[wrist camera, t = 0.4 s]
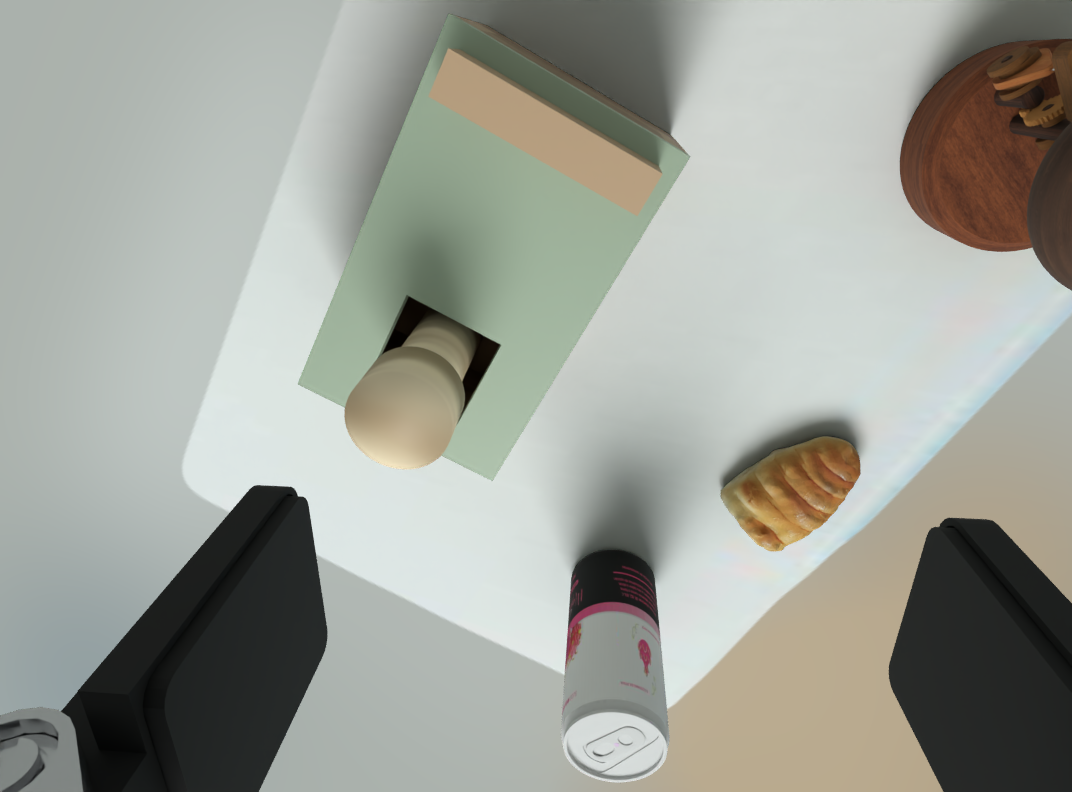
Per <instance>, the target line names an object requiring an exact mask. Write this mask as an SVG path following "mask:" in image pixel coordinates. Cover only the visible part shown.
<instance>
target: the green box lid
mask: <svg viewBox="0 0 1072 792" xmlns="http://www.w3.org/2000/svg"><path fill="white" fill-rule="evenodd" d="M689 158H690V156H689V155H688V154H687V153H686V152H684V151H682V150H681V149H679V148H677V147H676V146H674V145H672V144H670V143H669V142H667V141H665V140H664V139H662V138H660V137H659V136H657V135H655V134H654V133H652V132H650V131H649V130H647V129H645V128H644V127H642V126H640V125H638V124H637V123H635V122H633V121H632V120H630V119H628V118H627V117H625V116H623V115H622V114H620V113H618V112H617V111H615V110H613V109H612V108H610V107H608V106H606V105H605V104H603V103H601V102H600V101H598V100H596V99H595V98H593V97H591V96H590V95H588V94H586V93H585V92H583V91H581V90H580V89H578V88H576V87H574V86H573V85H571V84H569V83H568V82H566V81H564V80H563V79H561V78H559V77H558V76H556V75H554V74H553V73H551V72H549V71H548V70H546V69H544V68H543V67H541V66H539V65H537V64H536V63H534V62H532V61H531V60H529V59H527V58H526V57H524V56H522V55H521V54H519V53H517V52H516V51H514V50H512V49H511V48H509V47H507V46H505V45H504V44H502V43H500V42H499V41H497V40H495V39H494V38H492V37H490V36H489V35H487V34H485V33H484V32H482V31H480V30H479V29H477V28H475V27H473V26H472V25H470V24H468V23H467V22H465V21H463V20H462V19H460V18H458V17H457V16H455V15H452V14H448V16H447V19H446V21H445V24H444V26H443V28H442V31H441V33H440V36H439V38H438V41H437V43H436V46H435V48H434V51H433V53H432V55H431V58H430V60H429V63H428V65H427V68H426V70H425V73H424V75H423V78H422V80H421V82H420V85H419V87H418V90H417V92H416V95H415V97H414V100H413V102H412V105H411V107H410V109H409V112H408V114H407V117H406V119H405V122H404V124H403V127H402V129H401V132H400V134H399V136H398V139H397V141H396V144H395V146H394V149H393V151H392V154H391V156H390V159H389V161H388V163H387V166H386V168H385V171H384V173H383V176H382V178H381V181H380V183H379V186H378V188H377V190H376V193H375V195H374V198H373V200H372V203H371V205H370V208H369V210H368V213H367V215H366V217H365V220H364V222H363V225H362V227H361V230H360V232H359V235H358V237H357V240H356V242H355V244H354V247H353V249H352V252H351V254H350V257H349V259H348V262H347V264H346V267H345V269H344V271H343V274H342V276H341V279H340V281H339V284H338V286H337V289H336V291H335V294H334V296H333V298H332V301H331V303H330V306H329V308H328V311H327V313H326V316H325V318H324V321H323V323H322V325H321V328H320V330H319V333H318V335H317V338H316V340H315V343H314V345H313V348H312V350H311V352H310V355H309V357H308V360H307V362H306V365H305V367H304V370H303V372H302V375H301V377H300V379H299V382H298V385H300V386H302V387H304V388H306V389H308V390H310V391H312V392H314V393H316V394H318V395H320V396H322V397H324V398H326V399H328V400H331V401H333V402H335V403H337V404H339V405H341V406H343V407H345V406H346V402H347V399H348V397H349V395H350V393H351V392H352V390H353V389H354V388H355V386H356V385H357V384H358V383H359V381H360V380H361V379H362V377H363V376H364V375H365V374H366V372H367V371H368V370H369V368H370V367H371V366H372V365H373V363H374V362H375V361H376V360H377V359H378V358H379V357H380V356H381V355H382V353H383V351H384V349H385V347H386V344H387V342H388V340H389V338H390V336H391V334H392V331H393V329H394V327H395V325H396V323H397V321H398V319H399V316H400V314H401V312H402V310H403V308H404V306H405V303H406V301H407V299H408V297H409V296H410V297H411V298H413V299H415V300H417V301H419V302H421V303H423V304H425V305H427V306H428V307H430V308H432V309H434V310H436V311H438V312H440V313H442V314H444V315H446V316H447V317H449V318H451V319H453V320H455V321H457V322H459V323H461V324H463V325H464V326H466V327H468V328H470V329H472V330H474V331H476V332H478V333H480V334H482V335H483V336H485V337H487V338H489V339H491V340H493V341H495V342H497V343H499V344H500V346H499V347H498V349H497V351H496V353H495V355H494V357H493V358H492V360H491V362H490V364H489V366H488V367H487V369H486V371H485V373H484V375H483V376H482V378H481V380H480V382H479V384H478V386H477V387H476V389H475V391H474V393H473V395H472V396H471V398H470V400H469V402H468V404H467V405H466V407H465V409H464V411H463V413H462V414H461V416H460V418H459V421H458V423H457V425H456V428H455V430H454V433H453V435H452V437H451V440H450V442H449V444H448V447H447V448H446V450H445V451H444V453H443V454H442V455H441V456H443V457H445V458H447V459H449V460H451V461H453V462H455V463H457V464H459V465H461V466H463V467H465V468H467V469H469V470H471V471H473V472H475V473H477V474H479V475H481V476H483V477H485V478H487V479H489V480H491V481H493V479H494V478H495V476H496V474H497V473H498V471H499V469H500V468H501V466H502V465H503V463H504V461H505V460H506V458H507V456H508V455H509V453H510V451H511V450H512V448H513V446H514V445H515V443H516V442H517V440H518V438H519V437H520V435H521V433H522V432H523V430H524V428H525V427H526V425H527V424H528V422H529V420H530V419H531V417H532V415H533V414H534V412H535V410H536V409H537V407H538V406H539V404H540V402H541V401H542V399H543V397H544V396H545V394H546V392H547V391H548V389H549V387H550V386H551V384H552V383H553V381H554V379H555V378H556V376H557V374H558V373H559V371H560V369H561V368H562V366H563V365H564V363H565V361H566V360H567V358H568V356H569V355H570V353H571V351H572V350H573V348H574V347H575V345H576V343H577V342H578V340H579V338H580V337H581V335H582V333H583V332H584V330H585V329H586V327H587V325H588V324H589V322H590V320H591V319H592V317H593V315H594V314H595V312H596V310H597V309H598V307H599V306H600V304H601V302H602V301H603V299H604V297H605V296H606V294H607V292H608V291H609V289H610V288H611V286H612V284H613V283H614V281H615V279H616V278H617V276H618V274H619V273H620V271H621V270H622V268H623V266H624V265H625V263H626V261H627V260H628V258H629V256H630V255H631V253H632V251H633V250H634V248H635V247H636V245H637V243H638V242H639V240H640V238H641V237H642V235H643V233H644V232H645V230H646V229H647V227H648V225H649V224H650V222H651V220H652V219H653V217H654V215H655V214H656V212H657V211H658V209H659V207H660V206H661V204H662V202H663V201H664V199H665V197H666V196H667V194H668V193H669V191H670V189H671V188H672V186H673V184H674V183H675V181H676V179H677V178H678V176H679V174H680V173H681V171H682V170H683V168H684V166H685V165H686V163H687V161H688V160H689Z"/></svg>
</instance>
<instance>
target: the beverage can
mask: <svg viewBox="0 0 1072 792" xmlns="http://www.w3.org/2000/svg"><path fill="white" fill-rule="evenodd" d="M564 680H565V681H564V694H563V709H562V724H561V739H562V742H563V749H564V753H565V755H566V757H567V759H568V760H569V762H570V763H571V764H572V765H573V766H574V767H575V768H576V769H578V770H579V771H581V772H582V773H584V774H586V775H588V776H590V777H593V778H595V779H599V780H603V781H609V782H629V781H635V780H639V779H642V778H645V777H647V776H649V775H651V774H652V773H654V772H655V771H656V770H658V769H659V768H660V767H661V765H662V764H663V762H664V761H665V759H666V756H667V748H668V745H669V728H668V717H667V706H666V695H665V684H664V674H663V663H662V652H661V641H660V631H659V620H658V609H657V598H656V588H655V578H654V575H653V572H652V570H651V569H650V567H649V566H648V564H647V563H646V562H645V561H643V560H642V559H641V558H639V557H638V556H636V555H634V554H632V553H629V552H626V551H622V550H602V551H598V552H595V553H592V554H590V555H588V556H586V557H585V558H583V559H582V560H581V561H580V562H579V563H578V564H577V566H576V567H575V569H574V571H573V574H572V578H571V592H570V606H569V621H568V635H567V650H566V665H565V679H564Z"/></svg>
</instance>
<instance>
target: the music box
mask: <svg viewBox="0 0 1072 792" xmlns="http://www.w3.org/2000/svg"><path fill="white" fill-rule="evenodd" d="M900 175H901V182H902V186H903V190H904V193H905V196H906V198H907V200H908V202H909V204H910V206H911V207H912V209H913V210H914V211H915V213H916V214H917V215H918V216H919V217H920V218H921V219H922V220H923V221H924V222H925V223H926V224H928V225H929V226H931V227H932V228H934V229H936V230H937V231H939V232H941V233H943V234H945V235H947V236H949V237H951V238H953V239H955V240H957V241H959V242H961V243H963V244H965V245H968V246H970V247H973V248H977V249H981V250H987V251H997V252H1007V251H1017V250H1023V249H1028V248H1032V247H1033V249H1034V252H1035V254H1036V256H1037V258H1038V259H1039V261H1040V262H1041V264H1042V265H1043V267H1044V268H1045V269H1046V270H1047V271H1048V272H1049V274H1050V275H1051V276H1052V277H1054V278H1055V279H1056V280H1057V281H1058V282H1060V283H1061V284H1062V285H1064V286H1065V287H1067V288H1068V289H1070V290H1072V39H1052V40H1033V41H1018V42H1011V43H1006V44H1002V45H998V46H995V47H992V48H989V49H986V50H984V51H982V52H980V53H978V54H976V55H974V56H972V57H970V58H968V59H966V60H965V61H963V62H962V63H960V64H959V65H957V66H956V67H955V68H953V69H952V70H951V71H950V72H948V73H947V74H946V75H945V76H944V77H943V78H942V79H941V80H940V81H938V82H937V84H936V85H935V86H934V87H933V88H932V89H931V90H930V91H929V93H928V94H927V95H926V96H925V98H924V99H923V101H922V102H921V103H920V105H919V107H918V108H917V110H916V112H915V113H914V115H913V117H912V119H911V121H910V123H909V126H908V128H907V131H906V134H905V137H904V140H903V145H902V149H901V157H900Z"/></svg>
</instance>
